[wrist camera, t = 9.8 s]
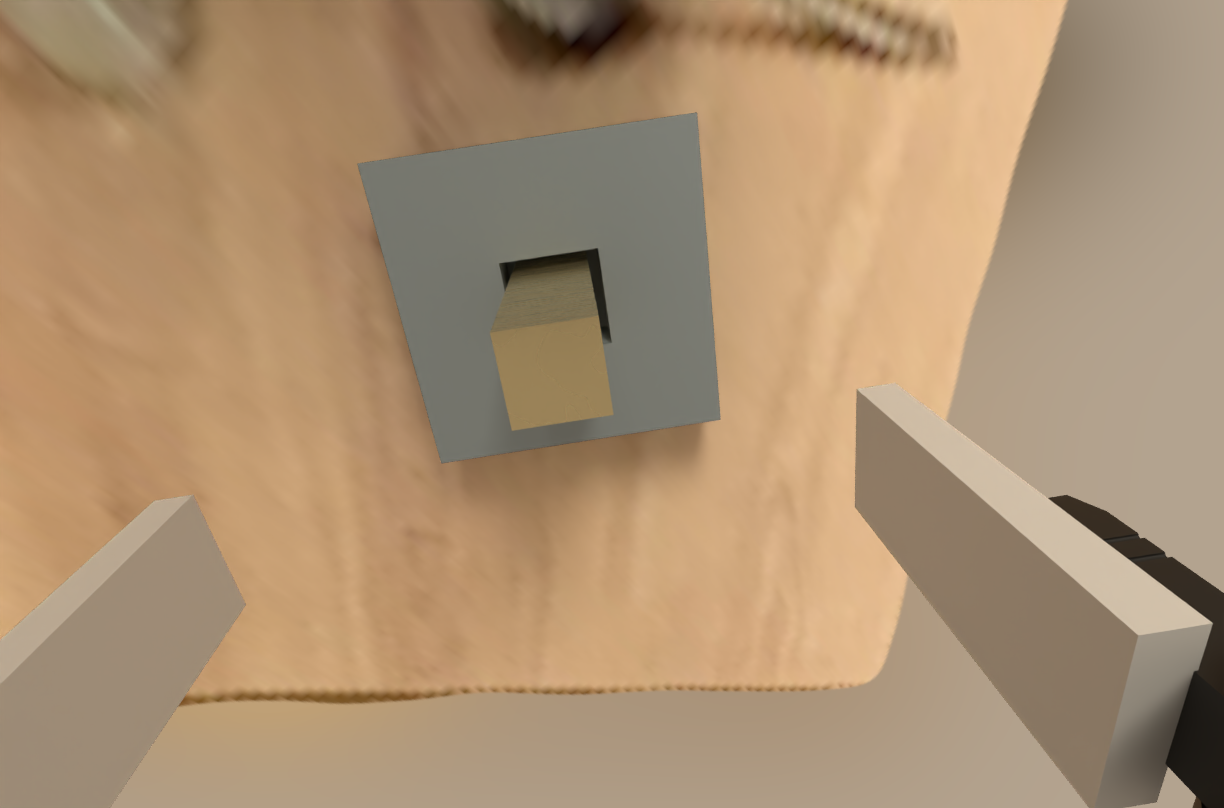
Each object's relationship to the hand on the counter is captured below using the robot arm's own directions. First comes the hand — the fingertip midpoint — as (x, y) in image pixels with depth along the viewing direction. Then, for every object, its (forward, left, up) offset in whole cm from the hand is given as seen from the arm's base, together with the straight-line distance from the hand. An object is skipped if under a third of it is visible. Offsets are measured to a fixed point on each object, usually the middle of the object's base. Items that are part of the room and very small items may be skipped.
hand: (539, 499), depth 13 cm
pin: (0, 0, -20) cm, 20 cm away
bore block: (0, 0, -21) cm, 21 cm away
